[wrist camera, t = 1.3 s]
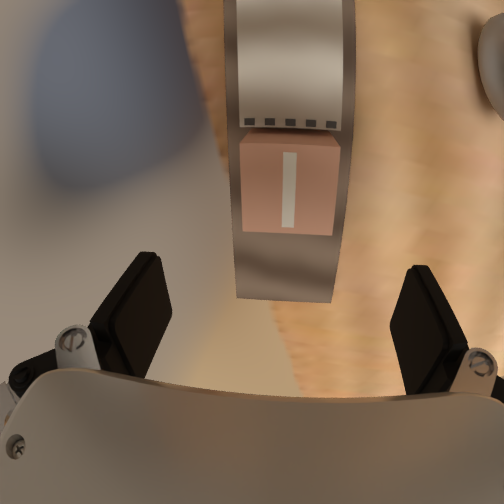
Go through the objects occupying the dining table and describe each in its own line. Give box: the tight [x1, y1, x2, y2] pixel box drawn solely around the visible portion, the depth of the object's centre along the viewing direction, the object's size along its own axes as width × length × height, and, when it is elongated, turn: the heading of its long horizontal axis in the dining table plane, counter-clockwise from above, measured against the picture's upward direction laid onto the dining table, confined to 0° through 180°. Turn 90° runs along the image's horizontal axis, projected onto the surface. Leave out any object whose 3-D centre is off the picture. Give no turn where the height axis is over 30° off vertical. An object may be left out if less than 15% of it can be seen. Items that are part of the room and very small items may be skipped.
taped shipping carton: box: [239, 128, 341, 236], centre depth 21 cm, size 6×6×6 cm
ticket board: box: [224, 0, 356, 303], centre depth 21 cm, size 36×10×4 cm, turn 1°
